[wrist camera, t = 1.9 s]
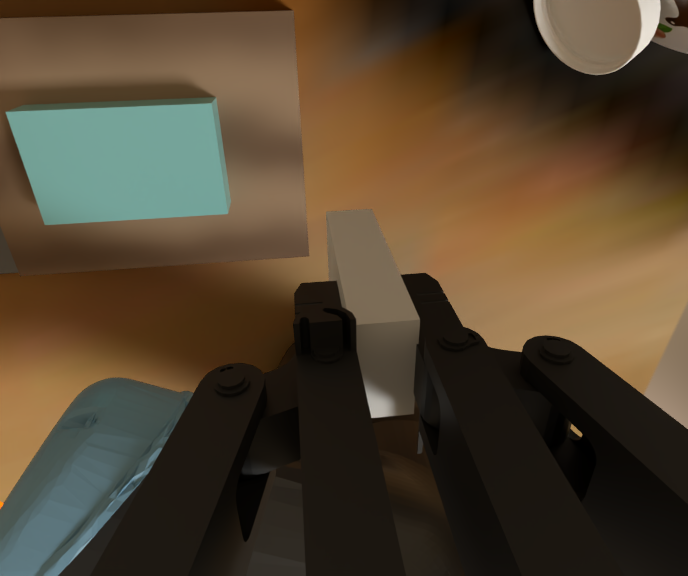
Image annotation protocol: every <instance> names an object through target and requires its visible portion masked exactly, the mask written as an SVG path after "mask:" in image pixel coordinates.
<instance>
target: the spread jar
mask: <svg viewBox="0 0 688 576" xmlns="http://www.w3.org/2000/svg"><path fill="white" fill-rule="evenodd" d="M533 8H534V15H535V20H536V23H537V26H538V29H539V32H540V34H541V36H542V37H543V39H544V41H545V43H546V44H547V46H548V47H549V48H550V50H551V51H552V52H553V53H554V54H555V55H556V56H557V57H558V58H559V59H560V60H561V61H562V62H564V63H565V64H566V65H568V66H569V67H571V68H573V69H575V70H577V71H580V72H583V73H586V74H594V75H601V74H608V73H611V72H614V71H617V70H618V69H620V68H621V67H623V66H625V65H626V64H627V63H628V62H629V61H630V60H632V59H633V58H634V57H635V56H636V55H637V54H639V53H640V52H641V51H642V50H643V49H644V48H645V47H646V46H647V45H648V44H649V42H650V41H653V42H655V43H657V44H659V45H662V46H664V47H667V48H670V49H673V50H676V51H679V52H683V53H686V54H688V0H533Z"/></svg>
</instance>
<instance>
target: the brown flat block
mask: <svg viewBox="0 0 688 576" xmlns="http://www.w3.org/2000/svg"><path fill="white" fill-rule="evenodd" d="M205 97H216V100H217V107H218V114H219V121H220V128H221V135H222V142H223V149H224V156H225V163H226V170H227V177H228V184H229V191H230V198H231V204H230V208H229V212H228V214H221V215H204V216H188V217H171V218H155V219H138V220H122V221H105V222H89V223H72V224H56V225H45V224H44V221H43V218H42V216H41V213H40V210H39V207H38V204H37V201H36V198H35V196H34V193H33V190H32V187H31V184H30V181H29V178H28V175H27V173H26V170H25V167H24V164H23V161H22V158H21V155H20V152H19V150H18V147H17V144H16V141H15V138H14V135H13V132H12V130H11V127H10V124H9V121H8V118H7V115H6V112H7V111H9V110H12V109H14V108H17V107H19V106H22V105H33V104H57V103H82V102H106V101H131V100H156V99H180V98H205ZM0 227H1V229H2V232H3V234H4V237H5V239H6V242H7V244H8V247H9V249H10V252H11V254H12V257H13V259H14V262H15V264H16V267H17V269H18V272H19V274H20V276H29V275H43V274H58V273H72V272H87V271H102V270H116V269H131V268H145V267H160V266H175V265H189V264H204V263H218V262H233V261H247V260H262V259H277V258H291V257H306V256H309V246H308V231H307V215H306V199H305V184H304V168H303V152H302V137H301V121H300V105H299V89H298V74H297V58H296V42H295V27H294V11H293V10H279V11H241V12H203V13H165V14H127V15H89V16H51V17H13V18H0Z"/></svg>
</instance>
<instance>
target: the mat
mask: <svg viewBox="0 0 688 576" xmlns="http://www.w3.org/2000/svg"><path fill="white" fill-rule="evenodd" d="M4 273H19V272H18V269H17V267H16V264H15V262H14V259H13V257H12V254H11V252H10V249H9V247H8V244H7V242H6V239H5V237H4V234H3V232H2V229H1V227H0V274H4Z"/></svg>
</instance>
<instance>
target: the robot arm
mask: <svg viewBox="0 0 688 576" xmlns="http://www.w3.org/2000/svg"><path fill="white" fill-rule="evenodd" d="M326 220H327V244H328V267H329V281H326V282H312V283H301V284H300V286H299V287H298V289H297V290H296V291H295V293H294V300H295V320H294V323H293V328H294V339H295V343H294V344H293V345H292V346H291V347H290V348H289V350H288V351H287V352H286V354H285V355H284V357H283V359H282V361H281V363H280V365H279V367H278V369H276V370H273V371H270V372H267V373H264V374H262V372H261V370H259V369H258V368H256V367H254V366H253V365H248V364H243V363H236V364H228V365H224V366H221V367H218V368H216V369H214V370H213V371H211V372H209V373H208V374H207V375H206V376H205V377H204V378H203V379H202V380H201V381H200V383H199V385H198V387H197V388H196V390H195V392H194V393H192V392H190V391H183V392H176V391H172V390H169V389H165V388H161V387H157V386H154V385H150V384H146V383H143V382H139V381H135V380H132V379H127V378H108V379H104V380H101V381H98V382H96V383H94V384H92V385H90V386H88V387H87V388H86V389H84V390H83V391H82V392H81V393H80V394H79V395H78V396H77V397H76V398H75V399H74V401H73V402H72V403H71V404H70V406H69V407H68V408H67V410H66V411H65V412H64V414H63V415H62V417H61V418H60V419H59V421H58V422H57V424H56V425H55V426H54V428H53V429H52V431H51V432H50V434H49V435H48V437H47V438H46V440H45V441H44V443H43V444H42V446H41V447H40V449H39V450H38V452H37V453H36V455H35V456H34V458H33V459H32V461H31V462H30V464H29V465H28V467H27V468H26V470H25V471H24V473H23V474H22V476H21V477H20V479H19V480H18V482H17V483H16V485H15V487H14V488H13V490H12V491H11V493H10V494H9V496H8V497H7V499H6V500H5V502H4V504H3V505H2V507H1V508H0V576H688V429H686V428H685V427H684V426H683V425H681V424H680V423H679V422H678V421H676V420H675V419H674V418H672V417H671V416H669V415H668V414H667V413H666V412H664V411H663V410H662V409H661V408H659V407H658V406H657V405H656V404H654V403H653V402H652V401H650V400H649V399H648V398H646V397H645V396H644V395H643V394H641V393H640V392H639V391H637V390H636V389H635V388H633V387H632V386H631V385H630V384H628V383H627V382H626V381H624V380H623V379H622V378H621V377H619V376H618V375H617V374H615V373H614V372H613V371H611V370H610V369H609V368H608V367H606V366H605V365H604V364H602V363H601V362H600V361H598V360H597V359H596V358H595V357H593V356H592V355H591V354H589V353H588V352H587V351H585V350H584V349H583V348H582V347H580V346H578V345H577V344H575V343H573V342H572V341H569V340H566V339H563V338H560V337H555V336H537V337H533V338H531V339H529V340H527V341H526V343H525V344H524V346H523V350H522V352H516V351H507V350H500V349H495V348H491V347H488V346H487V344H486V342H485V341H484V339H483V338H482V337H481V336H480V335H479V334H478V333H476V332H475V331H473V330H471V329H469V328H465V327H463V326H462V324H461V322H460V320H459V318H458V317H457V315H456V313H455V311H454V309H453V308H452V306H451V304H450V302H448V299H447V297H446V295H445V293H443V290H442V288H441V286H440V284H439V283H438V281H437V280H435V279H434V278H432V277H431V276H429V275H428V274H426V273H418V274H405V275H400V272H399V270H398V268H397V266H396V263H395V261H394V259H393V256H392V254H391V252H390V250H389V247H388V245H387V243H386V240H385V238H384V236H383V234H382V231H381V229H380V227H379V224H378V222H377V220H376V218H375V215H374V213H373V211H372V209H363V210H346V211H330V212H326ZM571 424H573V425H574V426H575V427H576V428H577V429H578V430H579V431H580V432H581V433H582V434H583V435H582V437H579V436H578V435H577V434H575V433H574V432H573V431H572V430H571V429H570V428H571Z"/></svg>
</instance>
